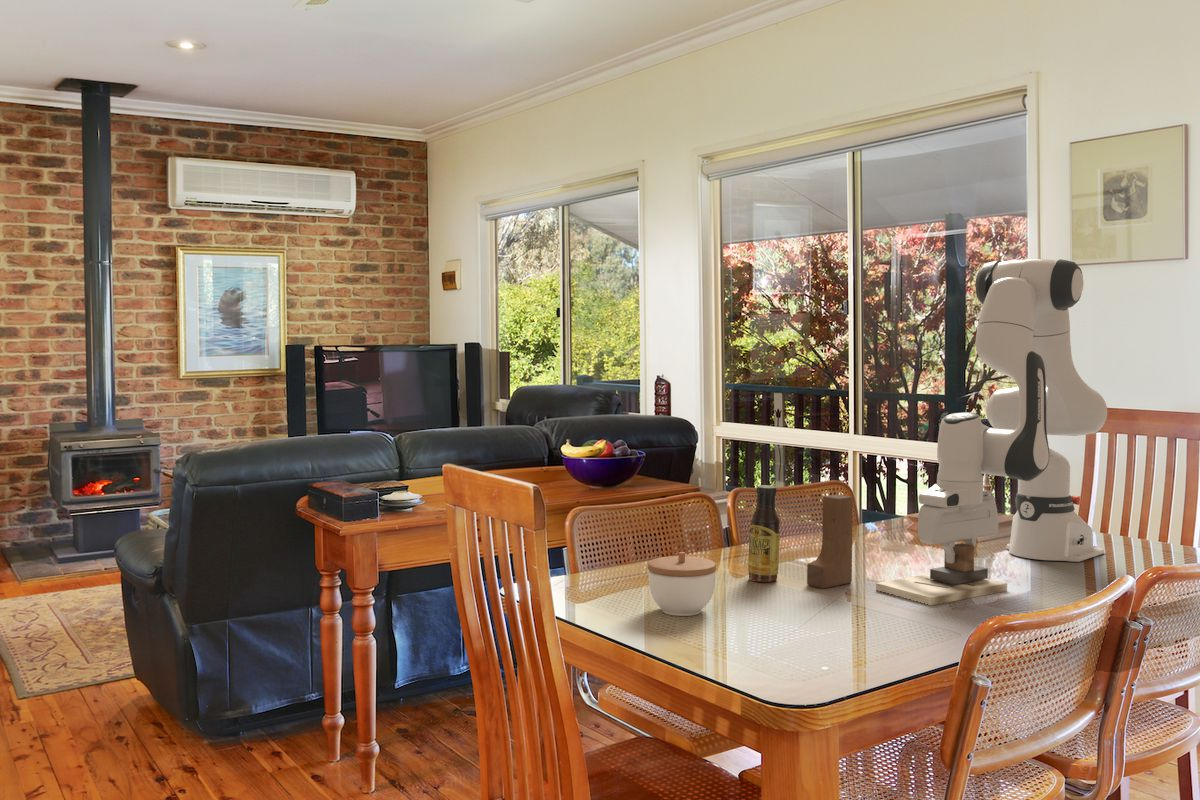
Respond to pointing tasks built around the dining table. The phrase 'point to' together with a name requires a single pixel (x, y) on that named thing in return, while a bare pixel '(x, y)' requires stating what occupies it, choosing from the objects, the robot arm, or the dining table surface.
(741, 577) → the dining table surface
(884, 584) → the birch board
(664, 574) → the lidded bowl
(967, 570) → the block
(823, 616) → the dining table surface
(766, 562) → the sauce bottle
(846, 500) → the wooden block
